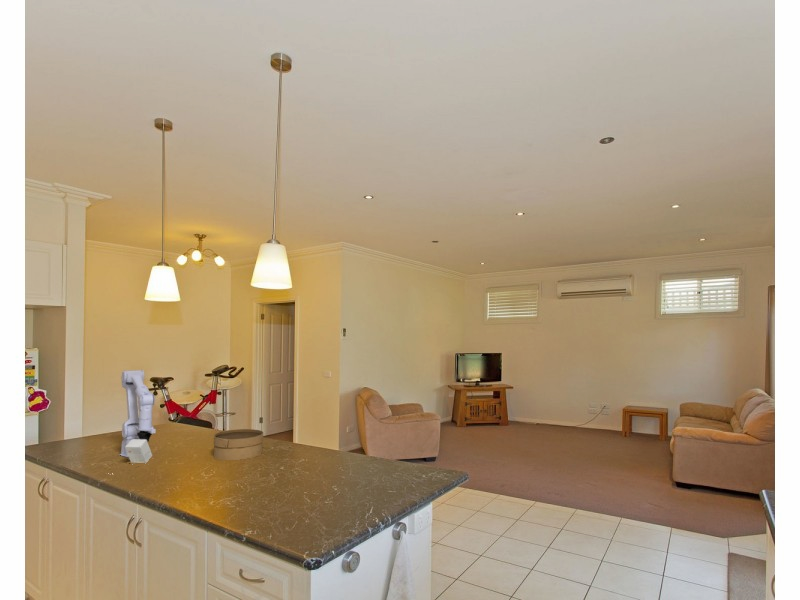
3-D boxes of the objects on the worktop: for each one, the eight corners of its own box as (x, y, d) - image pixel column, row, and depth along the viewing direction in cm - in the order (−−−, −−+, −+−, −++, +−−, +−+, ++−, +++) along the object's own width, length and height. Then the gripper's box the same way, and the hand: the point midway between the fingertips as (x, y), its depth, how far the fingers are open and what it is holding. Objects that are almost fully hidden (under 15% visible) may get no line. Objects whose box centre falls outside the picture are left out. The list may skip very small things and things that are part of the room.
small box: (152, 455, 234) (147, 439, 230) (146, 464, 229) (140, 447, 225) (137, 455, 235) (131, 438, 230) (130, 463, 230) (124, 446, 225)
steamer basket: (228, 463, 230) (229, 440, 231) (204, 455, 247) (204, 433, 248) (272, 454, 249) (272, 433, 250) (246, 447, 265) (247, 427, 266)
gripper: (161, 418, 234) (160, 446, 233) (144, 416, 241) (143, 443, 240) (148, 421, 228) (146, 449, 227) (131, 418, 235) (129, 446, 234)
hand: (144, 446), depth 233 cm, fingers closed
